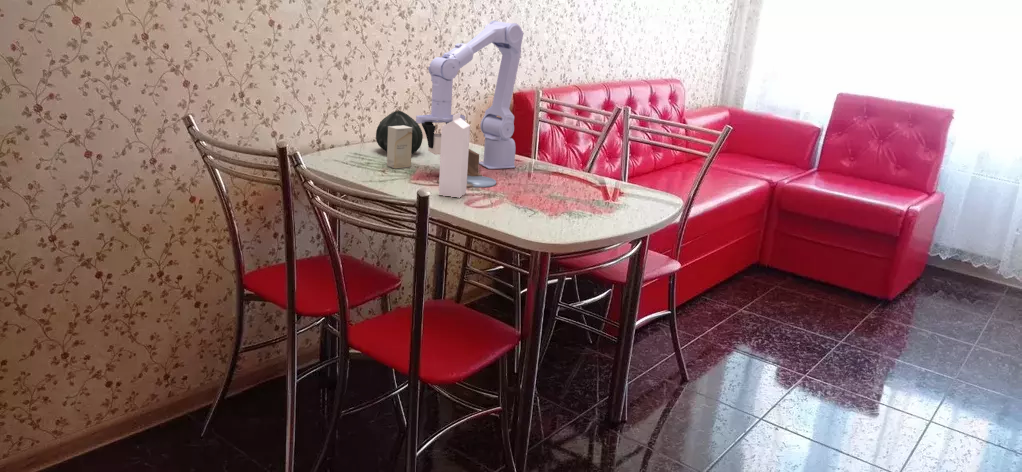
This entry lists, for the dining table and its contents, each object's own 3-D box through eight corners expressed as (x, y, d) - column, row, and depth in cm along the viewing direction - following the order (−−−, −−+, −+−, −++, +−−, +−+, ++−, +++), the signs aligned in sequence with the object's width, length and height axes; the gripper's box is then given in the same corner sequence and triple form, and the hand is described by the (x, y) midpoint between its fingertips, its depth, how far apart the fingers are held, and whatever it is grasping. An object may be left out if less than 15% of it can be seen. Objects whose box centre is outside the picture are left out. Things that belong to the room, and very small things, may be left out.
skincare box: (394, 169, 223) (395, 129, 219) (386, 165, 225) (387, 126, 222) (411, 166, 227) (413, 127, 223) (403, 163, 230) (404, 124, 226)
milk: (438, 195, 199) (441, 113, 192) (445, 190, 205) (448, 110, 198) (460, 198, 198) (463, 116, 191) (466, 193, 204) (470, 113, 196)
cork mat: (460, 179, 216) (460, 177, 216) (475, 186, 211) (475, 184, 210) (436, 182, 212) (436, 180, 212) (452, 189, 206) (452, 187, 206)
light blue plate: (486, 176, 222) (486, 174, 222) (502, 186, 213) (502, 184, 213) (452, 178, 217) (452, 176, 217) (467, 188, 208) (467, 186, 208)
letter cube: (444, 150, 221) (444, 133, 219) (450, 154, 217) (451, 136, 215) (428, 150, 219) (429, 133, 217) (434, 154, 214) (435, 137, 213)
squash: (411, 129, 253) (387, 98, 242) (437, 140, 243) (414, 108, 232) (383, 159, 249) (358, 129, 239) (409, 171, 239) (384, 140, 229)
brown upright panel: (464, 167, 231) (465, 145, 229) (482, 177, 221) (483, 154, 218) (453, 167, 230) (455, 145, 228) (471, 178, 219) (472, 155, 217)
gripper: (422, 103, 206) (421, 151, 210) (470, 102, 213) (467, 149, 217) (414, 98, 212) (412, 145, 216) (460, 98, 219) (458, 144, 223)
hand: (439, 147), depth 217 cm, fingers closed on letter cube, 5 cm apart
